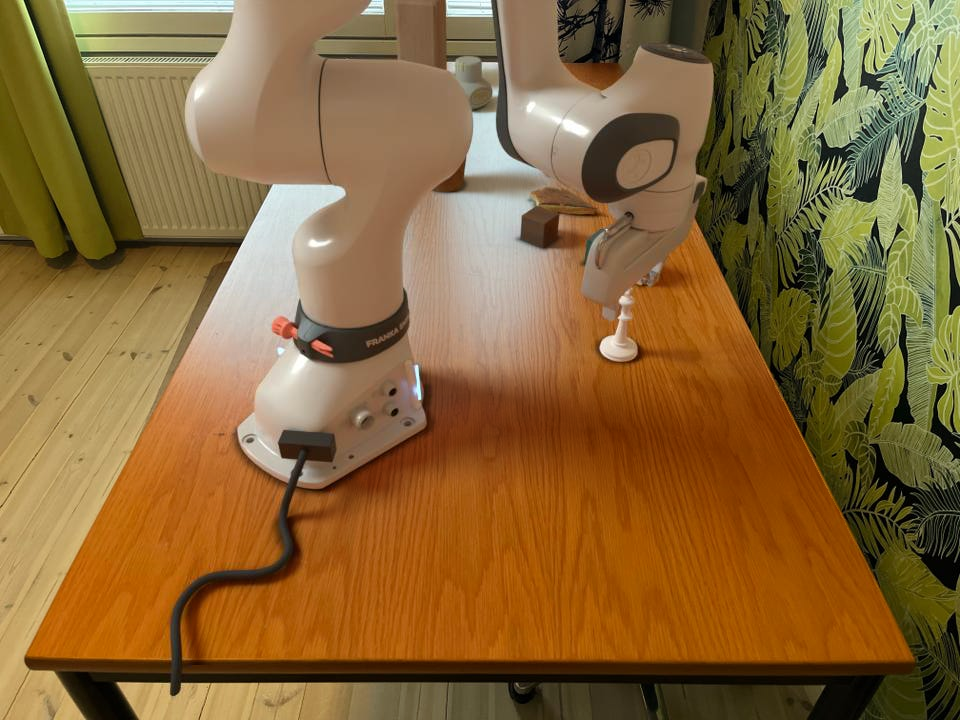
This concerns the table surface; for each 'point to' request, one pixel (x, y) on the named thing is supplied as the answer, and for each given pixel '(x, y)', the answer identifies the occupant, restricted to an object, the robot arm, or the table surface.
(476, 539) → the table surface
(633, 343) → the chess piece
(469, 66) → the grey rounded piece
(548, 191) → the brown flat wedge
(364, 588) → the table surface
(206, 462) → the table surface
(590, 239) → the teal block
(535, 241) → the walnut block
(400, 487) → the table surface
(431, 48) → the block
